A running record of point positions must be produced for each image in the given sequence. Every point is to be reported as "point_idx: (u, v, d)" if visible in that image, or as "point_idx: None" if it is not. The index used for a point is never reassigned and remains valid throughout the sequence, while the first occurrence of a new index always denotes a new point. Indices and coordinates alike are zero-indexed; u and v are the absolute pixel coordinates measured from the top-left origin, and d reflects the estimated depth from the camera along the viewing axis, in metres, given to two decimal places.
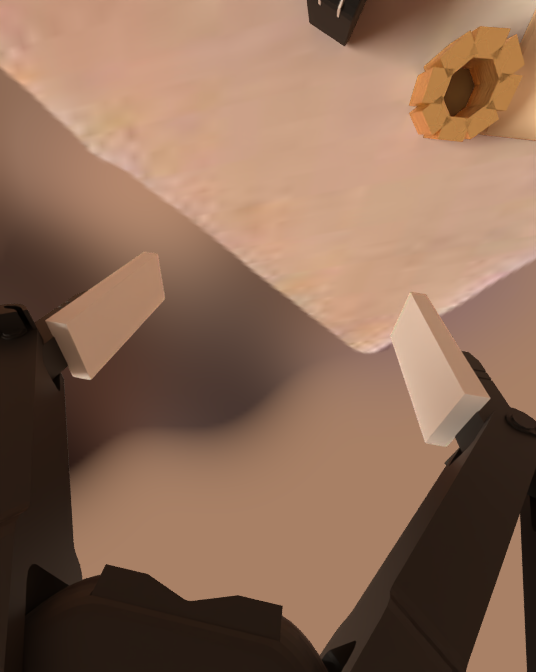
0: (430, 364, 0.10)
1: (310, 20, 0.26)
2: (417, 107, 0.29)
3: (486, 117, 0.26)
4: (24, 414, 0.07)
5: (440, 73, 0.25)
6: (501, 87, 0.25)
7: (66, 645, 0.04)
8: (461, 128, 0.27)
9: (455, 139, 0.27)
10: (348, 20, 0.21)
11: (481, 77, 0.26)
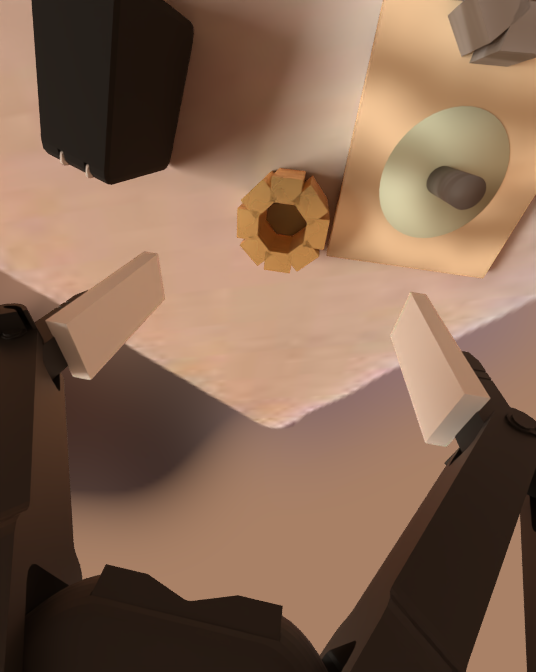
0: (430, 364, 0.10)
1: None
2: None
3: (305, 254, 0.24)
4: (24, 414, 0.07)
5: (246, 214, 0.23)
6: (311, 229, 0.23)
7: (66, 645, 0.04)
8: (284, 262, 0.25)
9: (281, 270, 0.25)
10: None
11: None
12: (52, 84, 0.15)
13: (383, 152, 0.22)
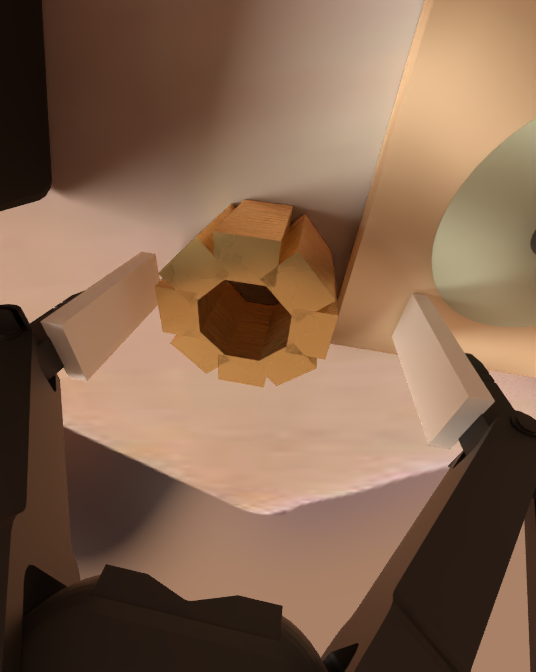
0: (433, 366, 0.10)
1: None
2: None
3: (291, 363, 0.13)
4: (19, 415, 0.07)
5: (173, 296, 0.12)
6: (302, 328, 0.12)
7: (66, 645, 0.04)
8: (253, 371, 0.14)
9: (250, 383, 0.14)
10: None
11: None
12: None
13: (450, 177, 0.10)
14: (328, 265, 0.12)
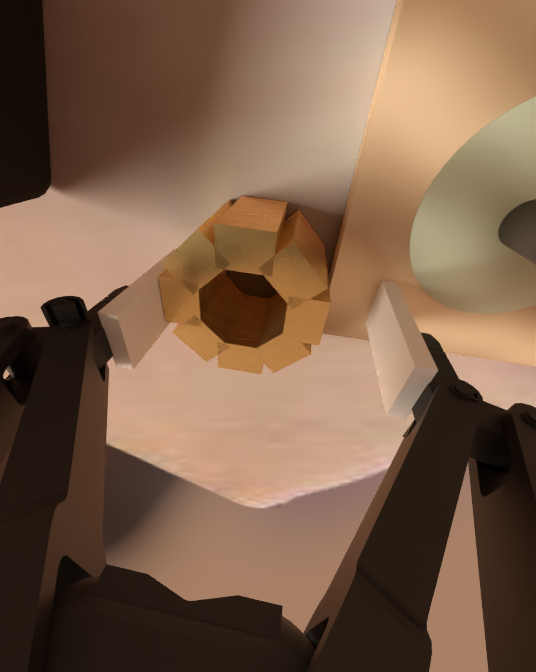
0: (392, 344, 0.11)
1: None
2: None
3: (287, 350, 0.14)
4: (71, 404, 0.07)
5: (175, 286, 0.12)
6: (297, 315, 0.12)
7: (66, 645, 0.04)
8: (251, 358, 0.14)
9: (248, 370, 0.15)
10: None
11: None
12: None
13: (422, 173, 0.11)
14: (321, 257, 0.13)
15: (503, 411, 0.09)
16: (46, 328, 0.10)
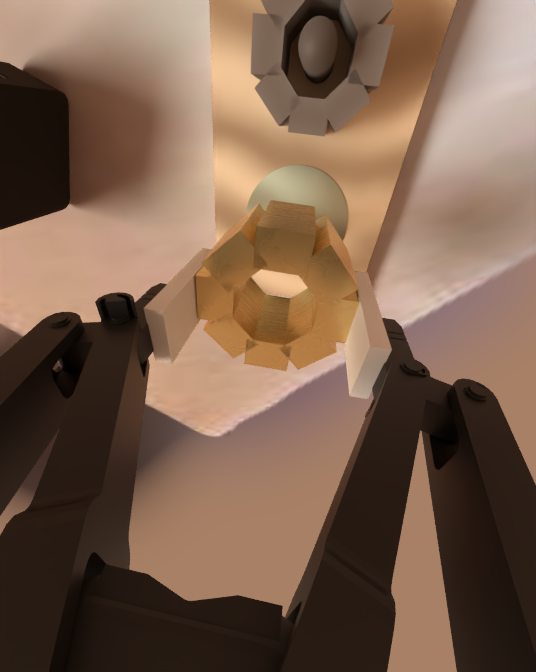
0: (357, 329, 0.12)
1: None
2: None
3: (314, 347, 0.14)
4: (113, 399, 0.07)
5: (212, 285, 0.13)
6: (327, 314, 0.13)
7: (66, 645, 0.04)
8: (278, 356, 0.15)
9: (273, 367, 0.15)
10: None
11: None
12: None
13: (242, 200, 0.25)
14: (348, 259, 0.14)
15: (448, 388, 0.09)
16: (94, 323, 0.10)
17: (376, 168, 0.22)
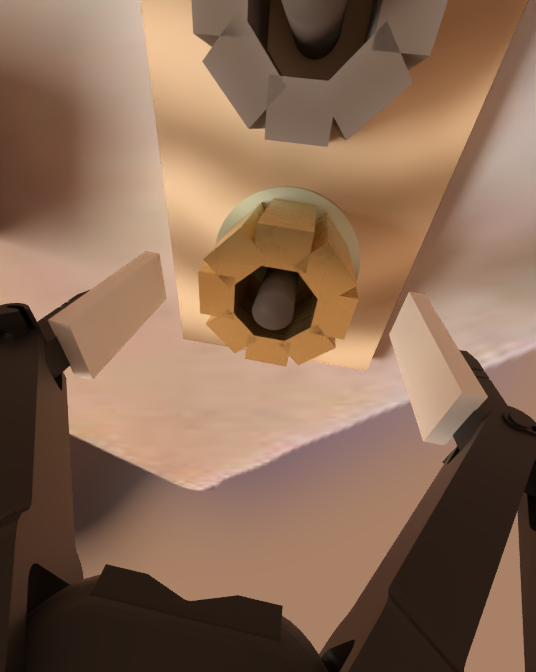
0: (428, 363, 0.11)
1: None
2: None
3: (313, 343, 0.15)
4: (26, 413, 0.07)
5: (213, 280, 0.13)
6: (326, 310, 0.13)
7: (66, 645, 0.04)
8: (278, 351, 0.15)
9: (273, 362, 0.16)
10: None
11: None
12: None
13: (208, 234, 0.17)
14: (348, 257, 0.14)
15: None
16: None
17: (406, 193, 0.14)
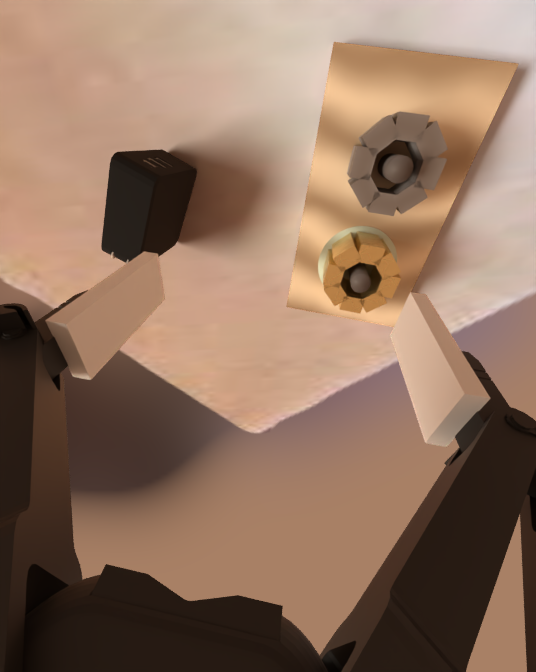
0: (430, 364, 0.10)
1: None
2: None
3: (376, 300, 0.30)
4: (24, 415, 0.07)
5: (334, 268, 0.29)
6: (385, 283, 0.29)
7: (66, 645, 0.04)
8: (357, 305, 0.31)
9: (354, 311, 0.32)
10: None
11: None
12: (112, 221, 0.27)
13: (318, 247, 0.33)
14: None
15: None
16: None
17: (421, 231, 0.30)
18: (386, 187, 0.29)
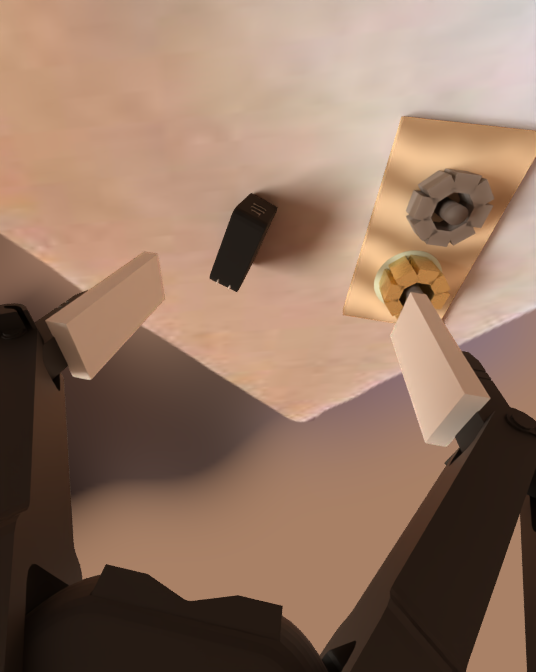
0: (430, 364, 0.10)
1: None
2: None
3: None
4: (24, 414, 0.07)
5: (396, 287, 0.36)
6: (436, 298, 0.36)
7: (66, 645, 0.04)
8: None
9: None
10: None
11: None
12: (224, 257, 0.34)
13: (376, 267, 0.40)
14: None
15: None
16: None
17: (464, 254, 0.37)
18: (437, 221, 0.35)
